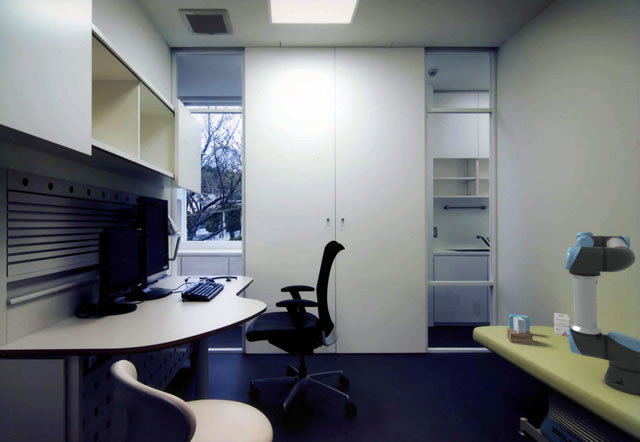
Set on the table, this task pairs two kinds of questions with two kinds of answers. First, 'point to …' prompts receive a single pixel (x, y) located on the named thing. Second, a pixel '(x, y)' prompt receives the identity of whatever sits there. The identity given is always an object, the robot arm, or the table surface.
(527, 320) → the data package
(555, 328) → the ink cartridge box
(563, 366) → the table surface
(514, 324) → the medicine box
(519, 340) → the walnut block
